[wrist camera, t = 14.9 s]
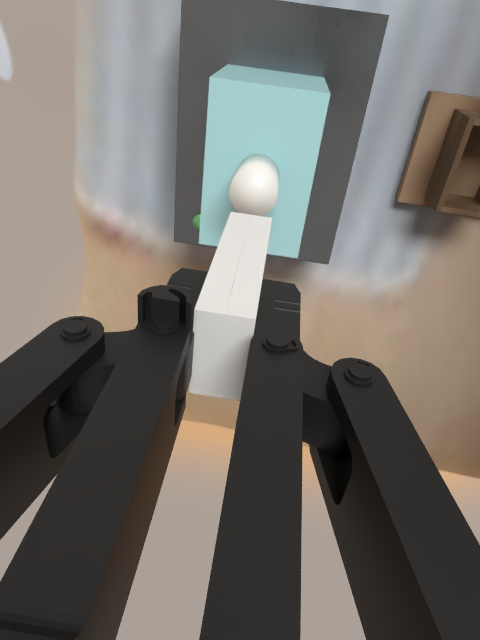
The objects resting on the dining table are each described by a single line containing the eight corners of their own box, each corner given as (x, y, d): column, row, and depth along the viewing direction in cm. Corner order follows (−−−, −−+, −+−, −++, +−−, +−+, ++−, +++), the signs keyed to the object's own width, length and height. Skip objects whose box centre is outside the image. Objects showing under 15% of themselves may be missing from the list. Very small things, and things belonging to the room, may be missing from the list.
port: (374, 15, 31) (389, 15, 26) (324, 233, 40) (328, 266, 35) (200, -9, 32) (180, -13, 26) (189, 213, 41) (173, 243, 35)
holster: (539, 106, 33) (570, 117, 29) (493, 211, 38) (514, 233, 34) (428, 90, 33) (444, 100, 30) (395, 197, 38) (406, 217, 34)
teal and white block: (321, 70, 32) (334, 103, 20) (297, 197, 37) (297, 282, 25) (235, 58, 32) (198, 84, 20) (223, 186, 37) (188, 266, 25)
